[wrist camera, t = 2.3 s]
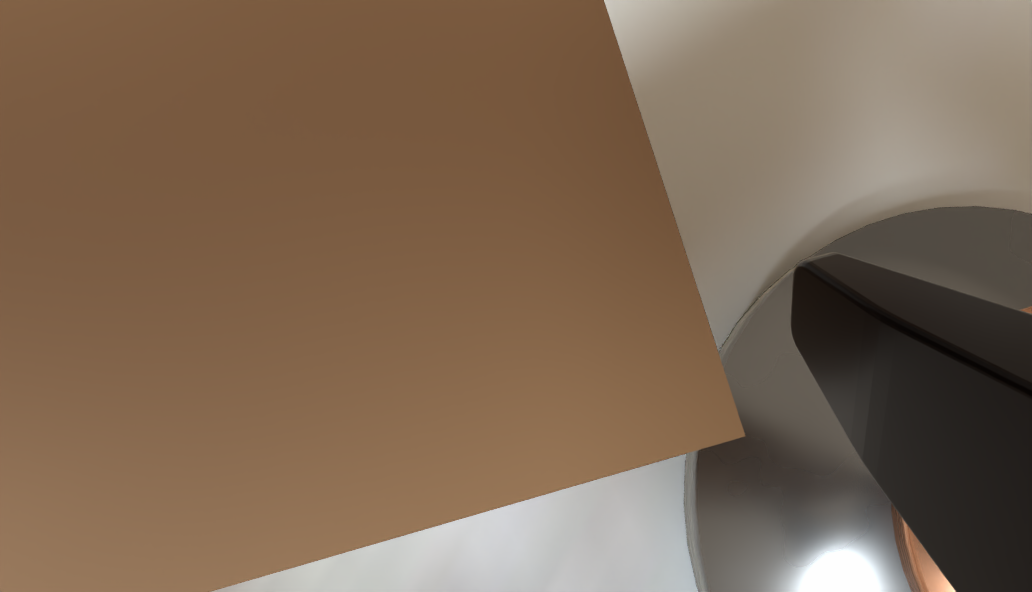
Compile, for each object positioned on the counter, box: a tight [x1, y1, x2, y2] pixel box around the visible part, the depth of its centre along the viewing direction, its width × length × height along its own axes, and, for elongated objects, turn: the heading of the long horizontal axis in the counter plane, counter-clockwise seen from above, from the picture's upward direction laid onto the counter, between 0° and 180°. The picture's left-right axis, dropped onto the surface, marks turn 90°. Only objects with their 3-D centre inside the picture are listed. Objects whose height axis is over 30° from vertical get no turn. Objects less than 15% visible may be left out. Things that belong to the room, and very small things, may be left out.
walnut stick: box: [0, 0, 745, 592], centre depth 11 cm, size 4×4×13 cm
